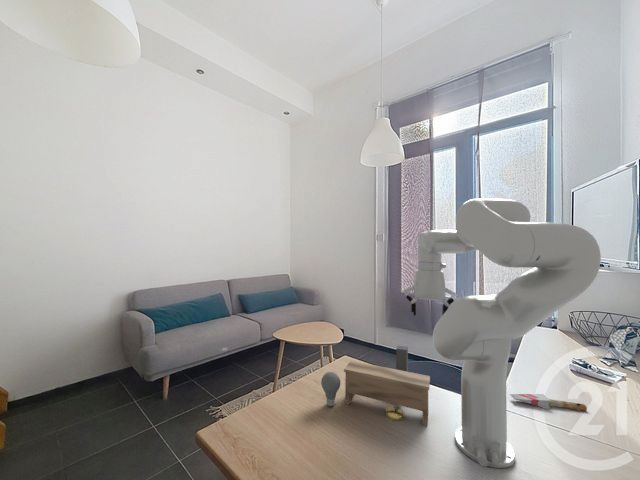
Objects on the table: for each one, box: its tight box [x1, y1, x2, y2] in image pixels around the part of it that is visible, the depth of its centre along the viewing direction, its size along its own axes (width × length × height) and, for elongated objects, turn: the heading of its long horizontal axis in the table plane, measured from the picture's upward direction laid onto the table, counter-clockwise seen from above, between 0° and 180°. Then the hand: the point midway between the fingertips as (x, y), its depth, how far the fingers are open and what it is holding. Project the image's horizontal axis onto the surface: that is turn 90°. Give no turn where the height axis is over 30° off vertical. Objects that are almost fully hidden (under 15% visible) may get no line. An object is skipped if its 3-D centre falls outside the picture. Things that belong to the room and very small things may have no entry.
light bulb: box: [320, 371, 341, 407], centre depth 82 cm, size 6×6×10 cm
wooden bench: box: [343, 360, 431, 427], centre depth 81 cm, size 7×25×11 cm, turn 65°
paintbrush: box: [509, 393, 588, 412], centre depth 83 cm, size 4×3×20 cm
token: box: [385, 405, 405, 422], centre depth 77 cm, size 5×5×2 cm
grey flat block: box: [395, 345, 409, 372], centre depth 89 cm, size 12×4×14 cm, turn 155°
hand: (429, 315), depth 92 cm, fingers open, 9 cm apart
